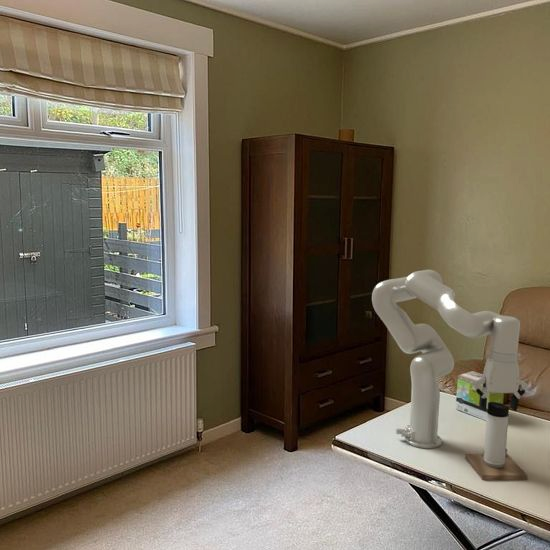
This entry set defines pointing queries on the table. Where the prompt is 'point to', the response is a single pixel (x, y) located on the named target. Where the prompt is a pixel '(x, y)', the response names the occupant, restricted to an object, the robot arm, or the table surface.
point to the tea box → (473, 395)
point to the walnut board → (488, 473)
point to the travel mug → (496, 435)
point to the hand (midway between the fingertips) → (498, 409)
